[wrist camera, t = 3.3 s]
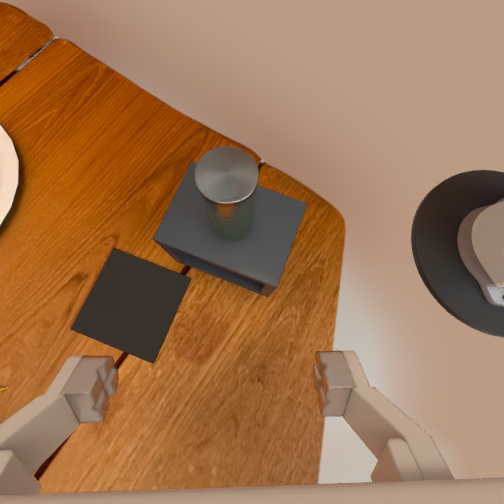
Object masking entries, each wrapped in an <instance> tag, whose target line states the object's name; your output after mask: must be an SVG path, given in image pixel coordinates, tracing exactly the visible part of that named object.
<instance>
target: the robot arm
mask: <svg viewBox="0 0 504 504" xmlns="http://www.w3.org/2000/svg"><path fill="white" fill-rule="evenodd" d="M457 244H458V250H459V254H460V257H461V259H462V261H463V263H464V265H465V266H466V268H467V269H468V271H469V272H470V273H471V274H472V276H473V277H474V278H475V279H476V280H477V281H478V283H479V284H480V287H481V289H482V292H483V294H484V296H485V298H486V300H487V301H488V302H489V303H490V304H493V305H497V306H503V307H504V299H503V298H502V296H503V297H504V197H503V198H501V199H500V200H498V201H497V202H496V203H495V204H492V205H488V206H484V207H480V208H477V209H475V210H473V211H472V212H470V213H469V214H468V215H467V216H466V217H465V218H464V219H463V221H462V223H461V225H460V227H459V230H458V235H457ZM315 360H316V363H315V364H314V365H313V383H314V387H315V390H316V391H317V392H318V393H319V395H318V404H319V408H320V412H321V416H344V417H343V418H344V419H345V420H346V421H347V423H348V424H349V425H350V426H351V428H352V429H353V430H354V431H355V432H356V434H357V435H358V436H359V437H360V438H361V440H362V441H363V442H364V443H365V444H366V446H367V447H368V448H369V449H370V451H371V452H372V453H373V454H374V455H375V457H376V458H377V459H378V462H377V464H376V466H375V468H374V470H373V472H372V475H371V479H372V482H369V483H368V482H367V483H338V484H308V485H279V486H249V487H220V488H191V489H161V490H132V491H104V492H75V493H46V494H38V493H39V491H40V489H41V486H40V483H39V482H38V481H37V479H36V478H35V477H34V476H33V475H32V474H33V473H34V472H35V471H36V470H37V469H38V468H39V467H40V466H41V465H42V464H43V463H44V461H45V460H46V459H47V458H48V457H49V456H50V455H51V454H52V453H53V452H54V451H55V450H56V449H57V448H58V447H59V446H60V445H61V444H62V443H63V442H64V441H65V440H66V439H67V438H68V437H69V436H70V434H71V433H72V432H73V431H74V430H75V429H76V428H77V427H78V426H79V425H80V424H79V423H95V422H103V421H104V418H105V416H106V414H107V411H108V409H109V406H110V403H109V400H108V399H109V398H110V397H111V396H113V395H114V394H115V391H116V389H117V386H118V380H119V374H118V370H117V368H115V367H114V366H113V363H114V359H113V357H112V356H70V357H69V358H68V359H67V360H66V361H65V363H64V365H63V366H62V368H61V369H60V371H59V373H58V374H57V376H56V377H55V379H54V380H53V382H52V384H51V385H50V387H49V388H48V390H47V391H46V393H45V395H39V396H38V397H37V398H35V399H34V400H33V401H31V402H30V403H29V404H27V405H26V406H24V407H23V408H22V409H20V410H19V411H18V412H16V413H15V414H14V415H12V416H11V417H9V418H8V419H7V420H5V421H4V422H3V423H1V424H0V504H504V478H485V479H484V478H483V479H454V477H453V476H452V474H451V472H450V470H449V468H448V466H447V464H446V462H445V461H444V459H443V457H442V455H441V453H440V451H439V449H438V448H437V446H436V444H435V442H434V440H433V438H432V437H431V436H430V435H429V434H428V433H427V432H426V431H425V430H423V429H422V428H421V427H420V426H419V425H417V424H416V423H415V422H414V421H413V420H412V419H411V418H409V417H408V416H407V415H406V414H405V413H404V412H402V411H401V410H400V409H399V408H398V407H397V406H396V405H394V404H393V403H392V402H391V401H390V400H389V399H387V398H386V397H385V396H384V395H383V394H381V393H380V392H379V391H378V390H377V389H376V388H375V387H370V385H369V383H368V380H367V378H366V376H365V373H364V371H363V369H362V366H361V364H360V362H359V359H358V357H357V355H356V353H355V352H354V351H317V352H316V354H315Z"/></svg>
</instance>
